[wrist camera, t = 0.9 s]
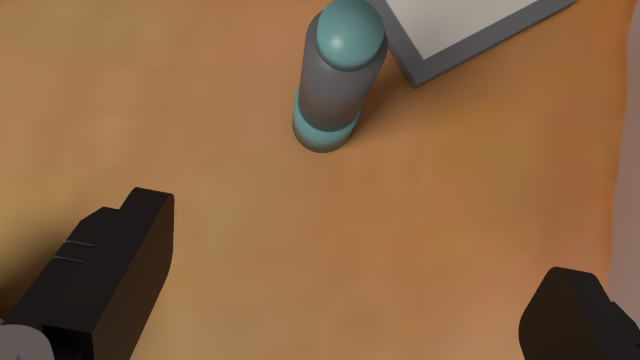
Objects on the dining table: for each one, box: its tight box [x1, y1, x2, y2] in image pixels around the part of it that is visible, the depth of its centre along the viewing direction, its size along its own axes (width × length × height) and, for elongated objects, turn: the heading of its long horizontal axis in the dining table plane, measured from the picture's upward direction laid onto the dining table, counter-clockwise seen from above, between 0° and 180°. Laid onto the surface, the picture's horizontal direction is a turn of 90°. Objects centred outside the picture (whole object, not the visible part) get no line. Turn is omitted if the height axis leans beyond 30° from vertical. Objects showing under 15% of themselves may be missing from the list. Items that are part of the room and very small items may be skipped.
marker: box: [292, 0, 388, 153], centre depth 32 cm, size 5×5×16 cm
